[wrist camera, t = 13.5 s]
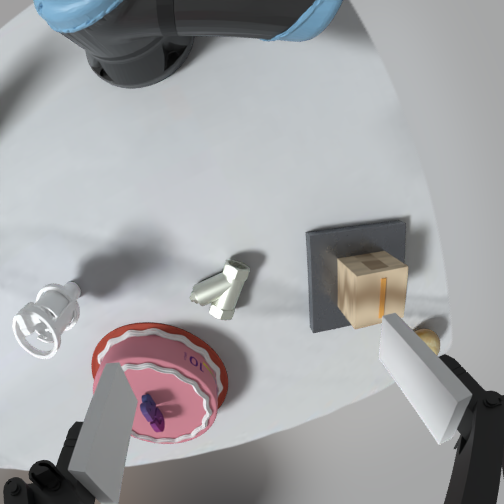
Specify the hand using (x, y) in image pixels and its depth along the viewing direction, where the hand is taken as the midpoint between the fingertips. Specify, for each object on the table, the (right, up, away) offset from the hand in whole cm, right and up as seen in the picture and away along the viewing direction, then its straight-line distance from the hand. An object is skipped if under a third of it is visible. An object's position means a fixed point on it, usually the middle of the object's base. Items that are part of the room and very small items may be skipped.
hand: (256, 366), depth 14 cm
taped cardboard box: (+17, +1, +32) cm, 36 cm away
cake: (-17, -17, +37) cm, 44 cm away
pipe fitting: (-5, +1, +32) cm, 33 cm away
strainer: (-29, -1, +30) cm, 41 cm away
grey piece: (+16, +2, +34) cm, 38 cm away
